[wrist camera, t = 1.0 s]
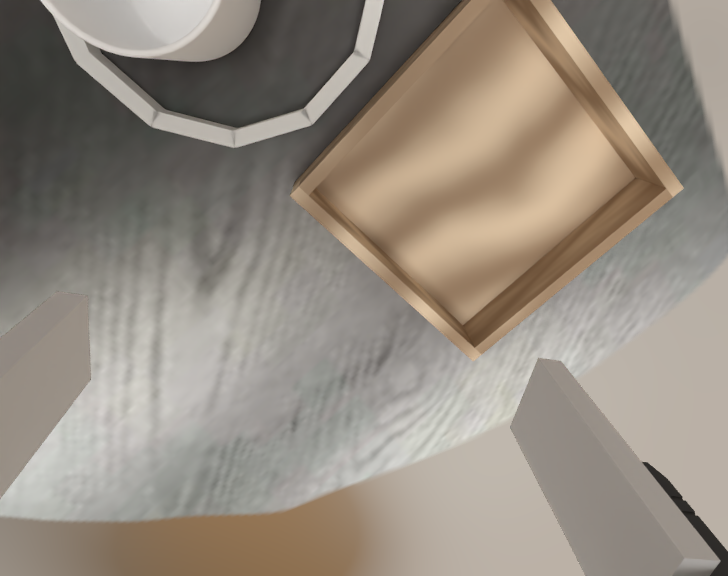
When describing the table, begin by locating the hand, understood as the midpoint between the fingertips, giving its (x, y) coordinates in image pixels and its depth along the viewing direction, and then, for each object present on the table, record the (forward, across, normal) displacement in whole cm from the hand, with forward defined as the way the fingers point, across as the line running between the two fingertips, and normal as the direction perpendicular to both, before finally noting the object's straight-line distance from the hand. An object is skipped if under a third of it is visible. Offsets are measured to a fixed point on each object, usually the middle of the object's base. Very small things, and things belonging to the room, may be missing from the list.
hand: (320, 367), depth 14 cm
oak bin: (+21, +10, +3) cm, 23 cm away
